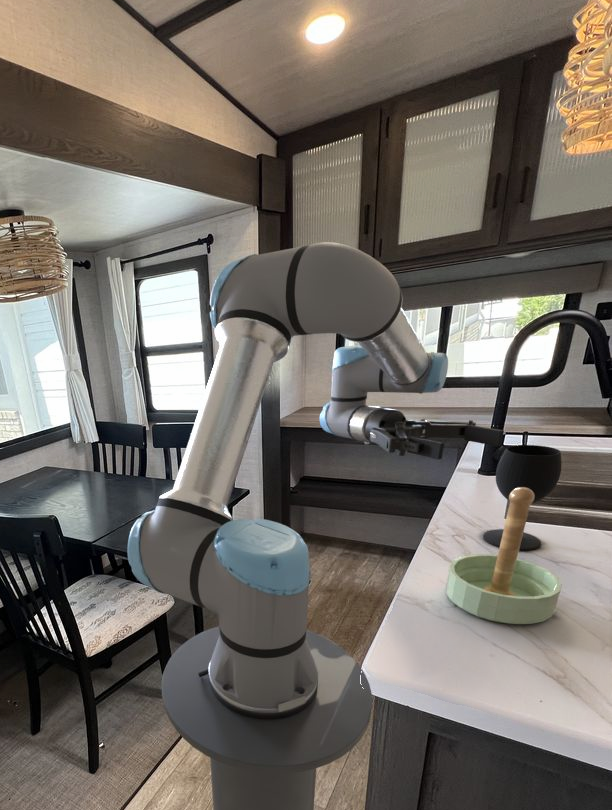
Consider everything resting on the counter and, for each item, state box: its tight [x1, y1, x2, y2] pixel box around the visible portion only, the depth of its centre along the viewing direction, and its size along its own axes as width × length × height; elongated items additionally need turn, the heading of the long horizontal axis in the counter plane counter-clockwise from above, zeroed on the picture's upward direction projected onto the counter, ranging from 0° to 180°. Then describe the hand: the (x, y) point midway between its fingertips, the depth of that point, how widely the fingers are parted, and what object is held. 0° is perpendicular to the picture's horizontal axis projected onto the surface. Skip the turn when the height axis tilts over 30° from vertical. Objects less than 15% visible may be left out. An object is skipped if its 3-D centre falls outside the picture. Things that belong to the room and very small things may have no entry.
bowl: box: [445, 553, 563, 625], centre depth 80 cm, size 15×15×6 cm
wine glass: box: [482, 444, 563, 552], centre depth 97 cm, size 10×10×20 cm
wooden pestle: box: [484, 487, 534, 596], centre depth 77 cm, size 4×4×20 cm
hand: (472, 444), depth 79 cm, fingers open, 13 cm apart
